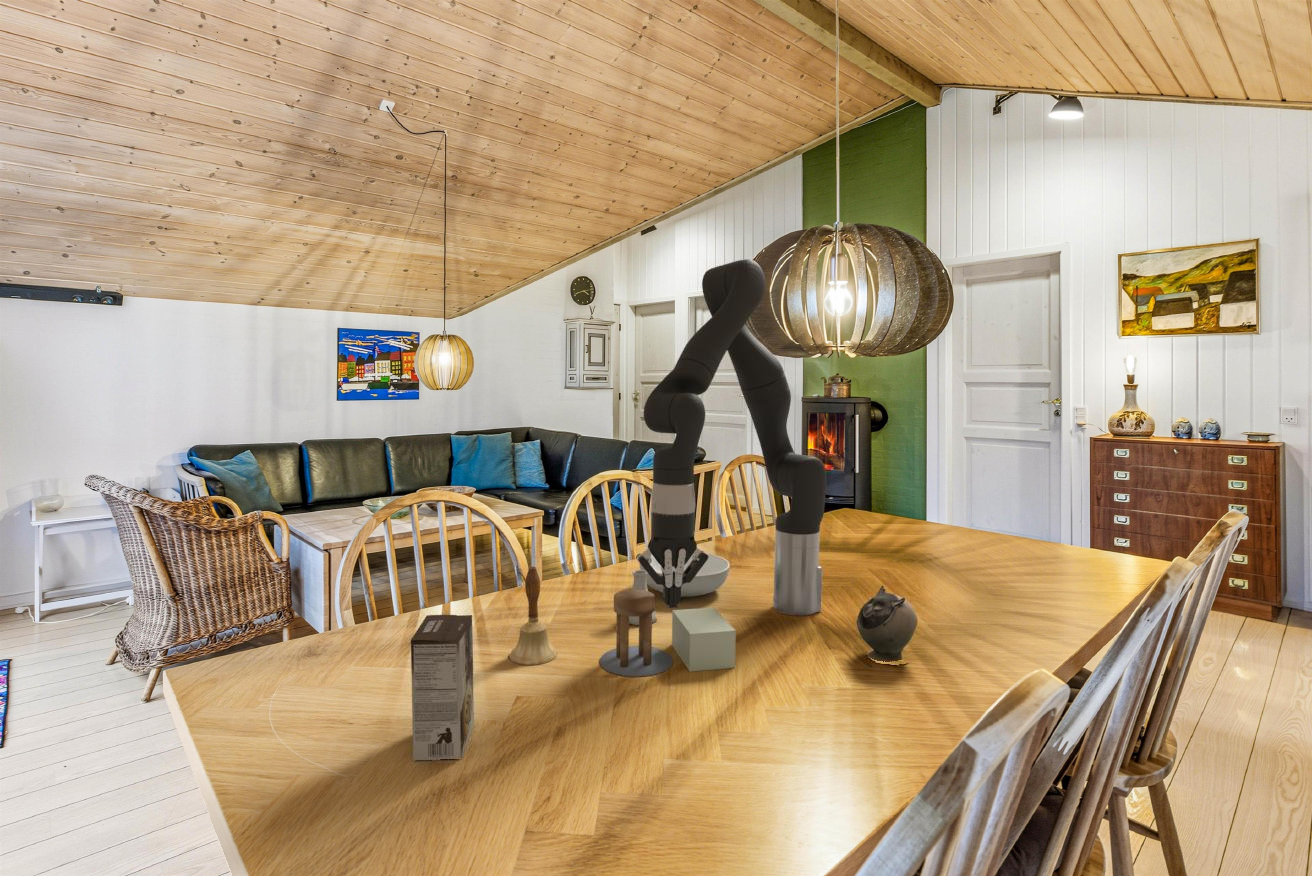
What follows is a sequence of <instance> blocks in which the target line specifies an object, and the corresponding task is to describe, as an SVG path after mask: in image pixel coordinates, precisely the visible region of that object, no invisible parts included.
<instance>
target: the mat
mask: <svg viewBox="0 0 1312 876" xmlns="http://www.w3.org/2000/svg"><path fill="white" fill-rule="evenodd" d="M673 661H674V660H673V657H672V656H671V655H670V653H668V652H667V651H666V650H662V649H660V648H657V647H653V646H652V659H651V665H649V666H646V665H644V664H643V656H639V645H629V659H628V667H625V668H623V667H620V658H617V657H616V648H612V649H610V650H608V651H606V652H605V653H603V654H602V655H601V656H600V659H599V664H600V666H601V668H602V669H603V670H605V671H606V672H609V673H610V674H614V675H618V676H622V677H632V678H633V677H634V678H635V677H639V678H641V677H651V676H655V675H659V674H661V673H664V672H666V671H668V670H669V669H670V668H671V667H672V665H673Z"/></svg>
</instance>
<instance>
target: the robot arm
mask: <svg viewBox="0 0 1312 876" xmlns="http://www.w3.org/2000/svg"><path fill="white" fill-rule="evenodd" d="M766 285H767V283H766V277H765V274H764V271H763V269H762V267H761V266H760V265H759V263H757V262H756V261H755V260H753V259H747V258H746V259H739V260H736V261H735V260H734V261H732V262H729V263H728V262H727V263H725V264H722V265H717V266H715V267H712V268H709V269H708V270H706V271H705V272H704V274H703V276H702V283H701V288H702V293H703V298H704V301H705V304H706V306H707V309H708V311H709V314H710V315H711V317H710V319H709V320H707V321H706V322H705V323H704V324H703V325H702V326H701V327H700V328H699V329H698V330H697V331H696V332H695V333H694V334H693V335H692V336H691V338H690V339H689V340H688V341H687V343H686V344H685V346H684V348H683V349H682V352H681V353H680V355H679V357H678V359H677V361H676V363H675V365H674V367H673V369H672V370H671V371H670V372H669V373H668V374H666V376H665V377H664V378H663V379H662V380H661V382H658V385H656V386H655V387H654V389H653V390H652V391H651V393H650V394H649V395H648V397H647V399H646V401H645V404H644V406H643V407H644V409H643V420H644V423H645V425H646V427H647V428H648V429H649V430H650V431H652V432H655V433H660V434H671V435H672V434H674V435H675V438H674V440H673V443H672V445H671V446H665V447H660V448H659V449H656V450H655V451H654V454H653V460H652V487H651V488H652V490H651V495H650V497H651V500H650V501H651V502H650V504H651V505H650V507H651V509H650V515H651V516H650V540H649V542H648V544H647V549H646V550H645V551H643V552H642V553H637V554H636V556H635V558H636V560H637V561H638V563H639V565H640V564H641V565H642V566H643V568H644V569H645V570H646V571H647V573H648V574H649V575H650V576H651V578H652V579H653V580H654V581H655V583H656V584H658V585H663V593H662V600H663V601H662V602H664V604H665V606H667V608H668V609H677V608H678V605H680V604H681V602H682V597H681V586H682V585H683V584H685V583H690V582H691V581H692V580H693V578H694V577H695V576H696V574H697V573H698V572H699V570H700V569H701V568H702V566H703V565H704V564H705V562H706V561H707V560H708V555H707V554H706V553H707V552H705V551H704V550H702V549H699V548H698V544H697V542H696V540H695V539H696V538H695V525H696V524H695V522H696V521H695V519H696V518H695V515H696V514H695V513H696V511H695V510H696V493H695V492H696V491H695V482H694V480H695V479H694V478H695V473H694V472H695V458H696V454H697V450H698V445H699V442H700V439H701V435H702V431H703V428H704V425H705V421H706V408H705V404H704V402H703V400H702V399H701V397H699V396H700V395H703V394H704V393H706V392H707V391H708V389H709V388H710V385H711V384H712V382H713V379H714V377H715V375H716V373H717V371H718V369H719V367H720V364H721V362H722V360H723V358H724V356H725V355H726V353H727V354H728V356H729V358H730V361H731V363H732V367H733V369H734V371H735V375H736V379H737V381H738V385H739V387H740V390H741V393H742V396H743V399H744V401H745V405H746V407H747V408H748V411H749V414H750V417H751V420H752V423H753V426H754V429H755V432H756V435H757V438H758V441H759V445H760V448H761V449H760V450H761V453H762V457H763V460H764V461H763V462H764V466H765V469H766V473H767V474H766V475H767V478H768V480H769V483H770V485H771V487H772V489H773V490H774V491H775V492H776V493H778V494H780V495H781V496H785V497H789V498H791V502H790V508H789V510H788V511H786V512H783V513H780V514H778V515H777V516H776V517H775V529H774V531H775V535H774V568H773V569H774V572H773V574H774V575H773V578H774V579H773V598H772V599H773V600H772V601H773V603H772V604H773V605H772V606H773V609H774V610H776V611H777V612H779V613H782V614H785V615H790V616H808V615H809V616H810V615H814V614H815V613H817V612H818V613H820V612H822V591H823V589H822V588H823V567H822V566H820V564H819V562H820V558H819V557H820V532H821V531H820V530H821V523H822V520H823V517H824V513H825V504H826V493H827V491H826V490H827V471H826V467H825V465H824V463H823V461H822V460H821V459H819V458H818V457H816V456H813V455H806V454H805V455H804V454H798V453H795V450H794V448H793V446H792V444H791V440H790V438H789V433H788V429H787V428H788V427H787V426H788V425H787V424H788V419H789V418H788V417H789V414H790V407H791V401H792V398H791V397H792V394H791V390H790V387H789V384H788V380H787V377H786V375H785V371H784V368H783V366H782V363H780V361H779V360H778V358H777V357H776V356H775V355H774V354H773V353H772V352H771V351H770V350H769V349H768V348H767V347H766V346H765V345H763V343H761V342H760V340H758V339H757V338H756V337H755V335H754V334H752V332H751V331H750V329H749V328H748V326H747V325H746V324H747V321H748V320H749V318H750V317H751V316H752V314H754V312H755V310H756V309H757V308H758V307H759V305H760V304H761V302H762V300H763V298H764V295H765V292H766ZM651 555H653V556H654V558H655V559H656V560H657V562H658V563H659V564H660V565H661V571H662V576H660V575H658V574H657V572H656V571H655V570H654V569H653V567H652V566H651V565H650V563H651V562H652V559H651ZM692 555H693V556H692ZM691 556H692V558H693V560H692V562H691V563H690V564H689V565H688V567H687V568H686V569H685V571H684V565H685V564H686V563H687V562H688V560H689V559H690V557H691Z"/></svg>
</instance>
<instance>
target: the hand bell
mask: <svg viewBox="0 0 1312 876" xmlns="http://www.w3.org/2000/svg"><path fill="white" fill-rule="evenodd" d="M540 579H541V578H540V575H539V572H538V570H537V567H536V566H529V567H528V570H527V573H526V577H525V581H524V582H525V583H524V586H525V587H524V588H525V589H524V590H525V594H526V598H527V603H528V614H527V616H528V621H527V622H525V623H523V624H522V625H521V627H520V631H519V636H518V641H517V643H516V645H515V647H514V648H513V649H512V650H511V651H510V653H509V656H508V657H509V659H510V661H512V662H514V663H515V664H518V665H523V666H538V665H539V666H540V665H544V664H547V663H550V662H552V661H553V660H555V659H556V658H557V655H558V651H557V650H556V648H555V647H554V646H553V645H552V644H551V642H550V640H549V637H548V631H547V625H546V624H545V623H543V622H540V621H539V607H538V602H539V597H540V593H541V580H540Z"/></svg>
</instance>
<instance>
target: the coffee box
mask: <svg viewBox="0 0 1312 876" xmlns="http://www.w3.org/2000/svg"><path fill="white" fill-rule="evenodd" d="M473 637H474V636H473V615H472V614H466V615H465V614H463V615H457V614H430V615H428V614H427V615H426V616H425V617H424V619H423V620H422V621H421V623H420V625H419V627H418V629H417V630H416V631H415V633H414V634H413V636H412V637H411V639H410V658H411V659H410V664H411V665H410V668H411V669H410V670H411V671H410V673H411V702H412V703H411V711H412V715H411V716H412V717H411V719H412V720H411V721H412V722H411V723H412V725H411V726H412V761H413V762H416V761H415V760H432V761H441V760H440V759H460V758H462V759H463V758H464V754H465V751H466V748H467V746H468V743H469V740H470V737H471V734H472V731H473V728H474V726H475V725H474V724H475V712H474V711H475V709H474V708H475V706H474V703H475V701H474V652H473V651H474V646H473V645H474V643H473ZM437 759H438V760H437ZM460 760H461V759H460Z"/></svg>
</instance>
